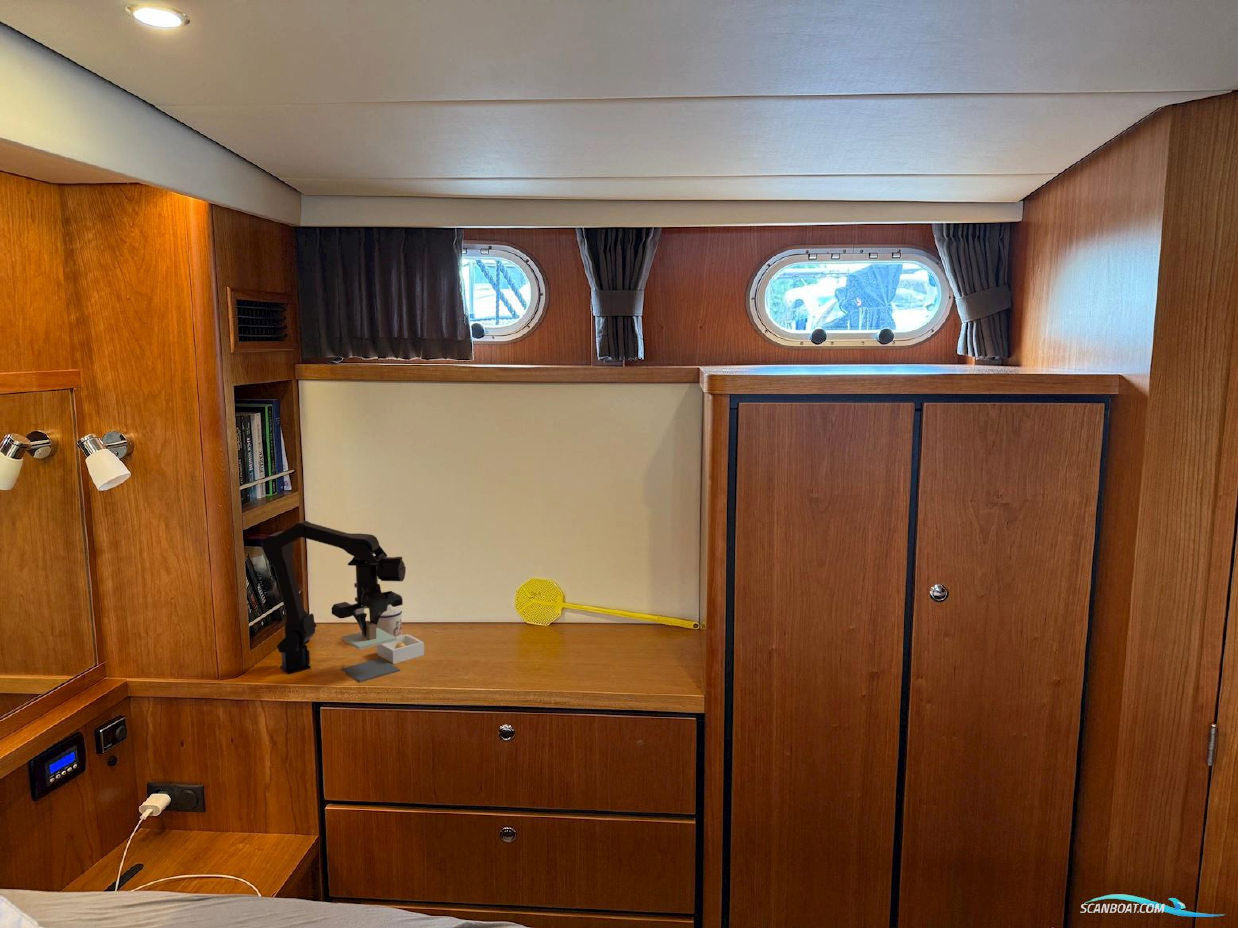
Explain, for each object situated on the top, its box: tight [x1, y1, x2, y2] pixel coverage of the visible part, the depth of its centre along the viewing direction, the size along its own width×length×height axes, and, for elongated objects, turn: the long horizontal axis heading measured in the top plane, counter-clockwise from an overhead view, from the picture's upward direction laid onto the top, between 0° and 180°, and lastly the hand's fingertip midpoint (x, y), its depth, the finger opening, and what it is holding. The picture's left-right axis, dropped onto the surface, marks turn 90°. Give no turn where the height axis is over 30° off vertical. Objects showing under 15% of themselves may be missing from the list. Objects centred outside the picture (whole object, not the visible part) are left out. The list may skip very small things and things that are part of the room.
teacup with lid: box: [376, 605, 403, 637], centre depth 249 cm, size 12×9×12 cm
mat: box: [340, 657, 401, 683], centre depth 222 cm, size 12×12×1 cm
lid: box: [341, 620, 396, 650], centre depth 221 cm, size 11×11×5 cm
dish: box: [376, 633, 425, 665], centre depth 234 cm, size 10×10×4 cm
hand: (368, 634), depth 221 cm, fingers closed on lid
